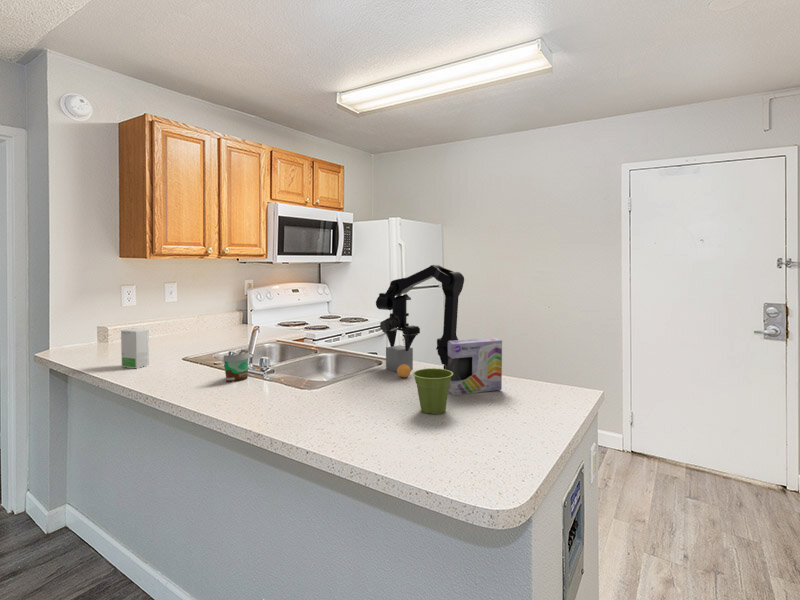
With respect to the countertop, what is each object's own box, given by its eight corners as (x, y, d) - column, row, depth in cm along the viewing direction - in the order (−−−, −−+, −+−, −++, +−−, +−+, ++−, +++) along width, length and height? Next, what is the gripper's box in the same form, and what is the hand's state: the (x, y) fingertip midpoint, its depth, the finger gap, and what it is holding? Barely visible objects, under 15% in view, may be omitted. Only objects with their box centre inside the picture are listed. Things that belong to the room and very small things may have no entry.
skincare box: (121, 367, 184) (119, 330, 182) (135, 364, 190) (133, 327, 189) (137, 369, 181) (135, 331, 180) (150, 365, 188) (148, 328, 186)
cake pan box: (449, 396, 145) (450, 342, 144) (444, 391, 150) (444, 339, 148) (502, 391, 150) (503, 339, 149) (495, 387, 155) (496, 337, 154)
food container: (239, 384, 159) (238, 356, 158) (223, 383, 160) (223, 355, 159) (257, 375, 171) (256, 349, 170) (242, 374, 172) (241, 349, 172)
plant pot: (428, 401, 139) (428, 366, 138) (460, 409, 132) (461, 372, 131) (404, 411, 130) (404, 373, 129) (437, 420, 123) (438, 380, 122)
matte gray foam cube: (412, 369, 181) (412, 347, 180) (398, 372, 176) (398, 350, 175) (400, 365, 187) (400, 345, 186) (386, 368, 182) (385, 347, 181)
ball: (413, 377, 168) (413, 364, 168) (403, 379, 165) (403, 366, 164) (404, 374, 172) (404, 362, 171) (394, 377, 169) (394, 364, 168)
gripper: (369, 310, 181) (369, 348, 182) (398, 314, 167) (399, 355, 168) (390, 308, 188) (390, 345, 190) (420, 312, 174) (420, 351, 175)
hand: (399, 349), depth 180 cm, fingers open, 9 cm apart
